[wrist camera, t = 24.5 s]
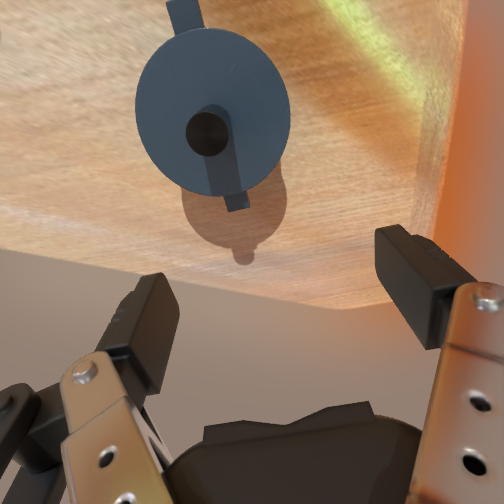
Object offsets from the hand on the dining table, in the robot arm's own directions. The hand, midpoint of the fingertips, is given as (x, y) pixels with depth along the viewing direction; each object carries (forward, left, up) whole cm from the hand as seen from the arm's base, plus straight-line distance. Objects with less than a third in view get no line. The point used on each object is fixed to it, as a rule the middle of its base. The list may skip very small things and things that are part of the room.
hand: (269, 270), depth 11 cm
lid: (+3, -3, -19) cm, 20 cm away
